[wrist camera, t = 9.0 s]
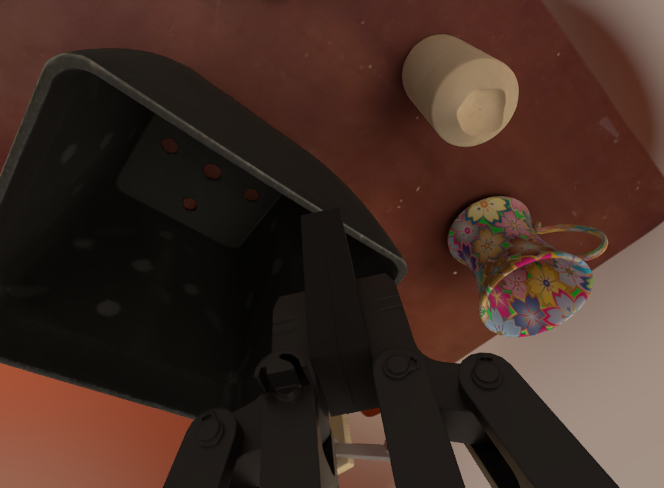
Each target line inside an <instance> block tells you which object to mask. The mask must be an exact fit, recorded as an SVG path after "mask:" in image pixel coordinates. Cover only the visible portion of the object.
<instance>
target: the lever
mask: <svg viewBox="0 0 664 488" xmlns="http://www.w3.org/2000/svg"><path fill="white" fill-rule="evenodd" d="M338 441H339V440H338V439H336V438H334V443H335V453H336V457H341V458H354V459H368V460H383V461H390V456H389V452H388V447H387V442H386V440H385V444H384V445H379V444H354V443H338Z"/></svg>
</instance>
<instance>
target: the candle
mask: <svg viewBox="0 0 664 488" xmlns="http://www.w3.org/2000/svg"><path fill="white" fill-rule="evenodd" d="M402 82H403V87H404V90H405V92H406V94H407V95H408V97H409V98H410V100H411V101H412V102H413V104H414V105H415V106H416V107H417V108H418V110H419V111H420V112H421V113H422V115H423V116H424V117H425V118H426V120H427V121H428V122H429V123H430V125H431V126H432V127H433V128H434V129H435V131H436V132H437V133H438V134H439V135H440V137H441V138H442V139H444V140H445V141H446V142H448V143H450V144H453V145H456V146H462V147H468V146H475V145H478V144H481V143H484V142H486V141H488V140H490V139H491V138H493V137H494V136H496V135H497V134H498V133H499V132H500V131H501V130H502V129H503V128H504V127H505V126H506V125H507V123H508V122H509V121H510V119H511V117H512V116H513V114H514V111H515V109H516V106H517V102H518V95H519V88H518V82H517V79H516V77H515V75H514V73H513V72H512V70H511V69H510V68H509V67H508V66H507V65H506V64H504V63H503V62H501V61H499V60H497V59H495V58H494V57H492V56H490V55H488V54H486V53H484V52H483V51H481V50H479V49H477V48H475V47H473V46H471V45H470V44H468V43H466V42H464V41H462V40H460V39H458V38H456V37H454V36H451V35H446V34H437V35H432V36H429V37H427V38H425V39H423V40H422V41H420V42H419V43H418V44H416V45H415V46H414V47H413V49H412V50H411V51H410V53H409V54H408V56H407V58H406V60H405V62H404V65H403V70H402Z"/></svg>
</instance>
